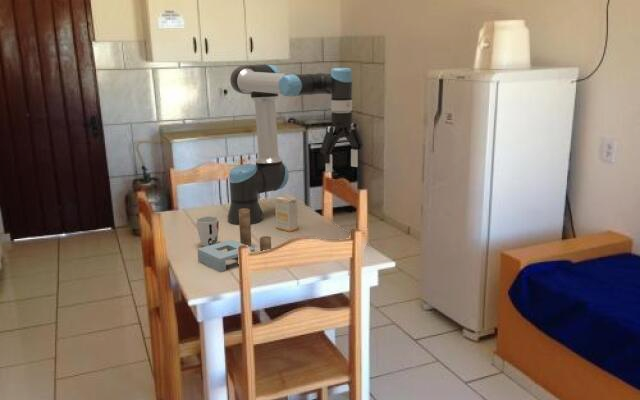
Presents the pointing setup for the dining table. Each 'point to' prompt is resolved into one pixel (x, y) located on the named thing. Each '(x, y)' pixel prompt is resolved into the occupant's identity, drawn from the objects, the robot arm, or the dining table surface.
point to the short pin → (265, 243)
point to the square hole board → (219, 254)
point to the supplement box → (286, 213)
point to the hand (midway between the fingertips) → (341, 169)
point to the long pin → (245, 226)
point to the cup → (208, 230)
